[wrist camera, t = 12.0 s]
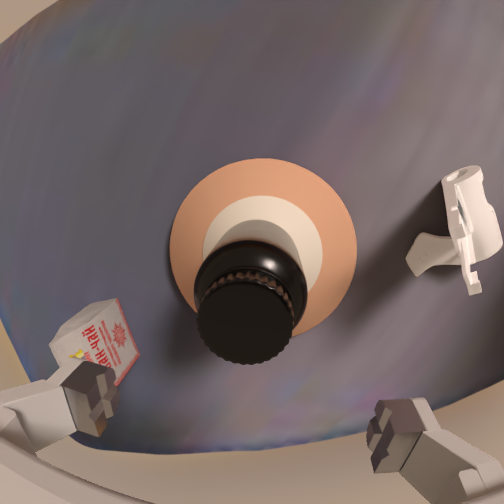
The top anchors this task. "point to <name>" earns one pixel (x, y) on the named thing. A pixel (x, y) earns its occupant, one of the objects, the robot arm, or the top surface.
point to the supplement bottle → (250, 293)
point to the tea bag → (97, 338)
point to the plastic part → (460, 229)
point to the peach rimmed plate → (278, 212)
